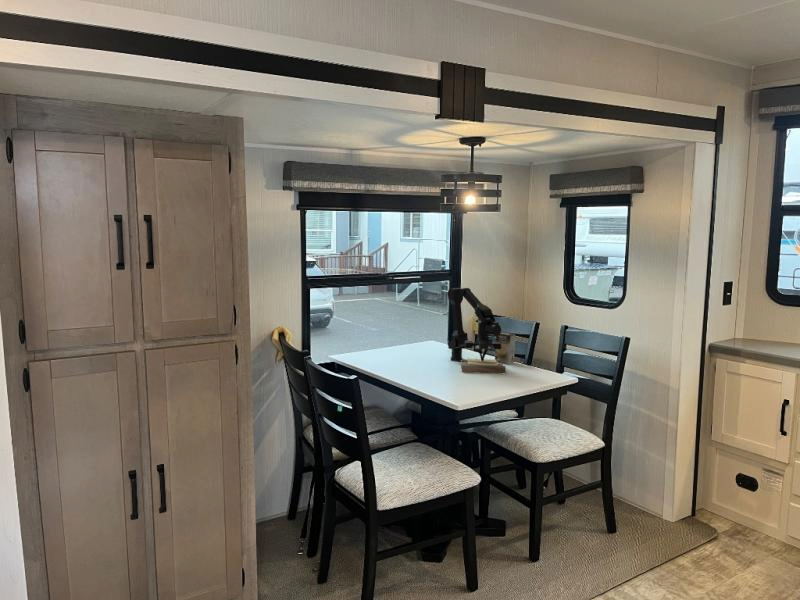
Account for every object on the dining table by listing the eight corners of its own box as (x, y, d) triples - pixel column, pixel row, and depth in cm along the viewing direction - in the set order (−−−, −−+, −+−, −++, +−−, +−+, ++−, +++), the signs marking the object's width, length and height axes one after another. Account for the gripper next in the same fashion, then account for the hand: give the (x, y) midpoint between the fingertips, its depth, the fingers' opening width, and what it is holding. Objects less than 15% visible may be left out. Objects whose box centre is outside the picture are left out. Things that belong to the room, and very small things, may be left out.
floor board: (460, 364, 318) (461, 358, 317) (502, 366, 316) (502, 360, 316) (461, 371, 303) (461, 365, 302) (505, 373, 301) (505, 367, 301)
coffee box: (493, 361, 326) (495, 333, 324) (499, 359, 331) (501, 331, 329) (508, 364, 321) (510, 335, 318) (514, 362, 325) (516, 333, 323)
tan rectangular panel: (467, 361, 316) (467, 358, 316) (496, 362, 315) (496, 359, 315) (468, 367, 306) (468, 364, 306) (497, 368, 305) (497, 365, 305)
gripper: (466, 334, 303) (464, 364, 306) (503, 336, 302) (501, 365, 305) (465, 330, 314) (464, 358, 317) (500, 331, 313) (499, 359, 316)
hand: (482, 360), depth 313 cm, fingers closed, pressing on tan rectangular panel
